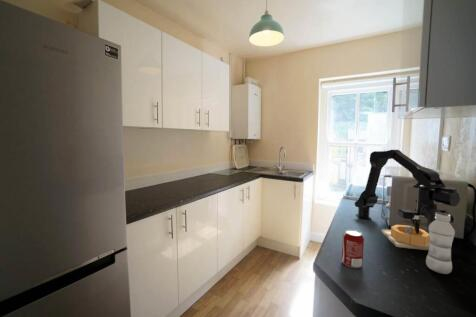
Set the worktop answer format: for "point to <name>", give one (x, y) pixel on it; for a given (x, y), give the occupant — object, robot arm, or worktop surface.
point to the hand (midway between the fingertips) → (423, 234)
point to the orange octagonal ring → (415, 238)
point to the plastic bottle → (440, 244)
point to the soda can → (352, 248)
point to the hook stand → (401, 243)
